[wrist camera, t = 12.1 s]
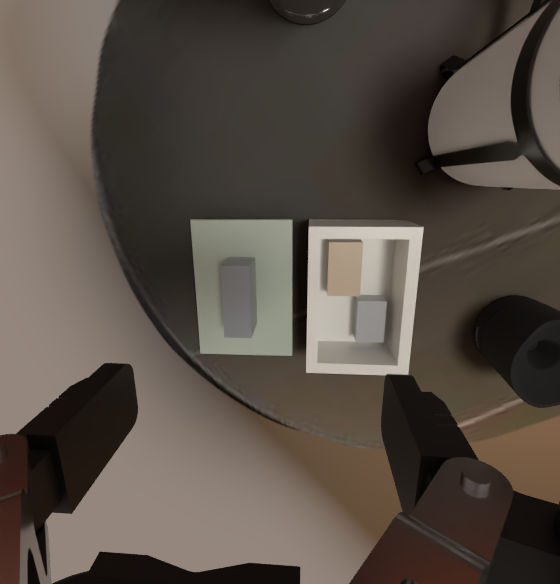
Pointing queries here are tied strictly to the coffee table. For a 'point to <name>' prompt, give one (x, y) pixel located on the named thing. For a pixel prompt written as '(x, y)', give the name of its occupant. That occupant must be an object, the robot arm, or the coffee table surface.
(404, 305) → the storage box
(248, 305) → the lid
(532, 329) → the pen holder
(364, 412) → the coffee table surface
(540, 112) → the coffee press
